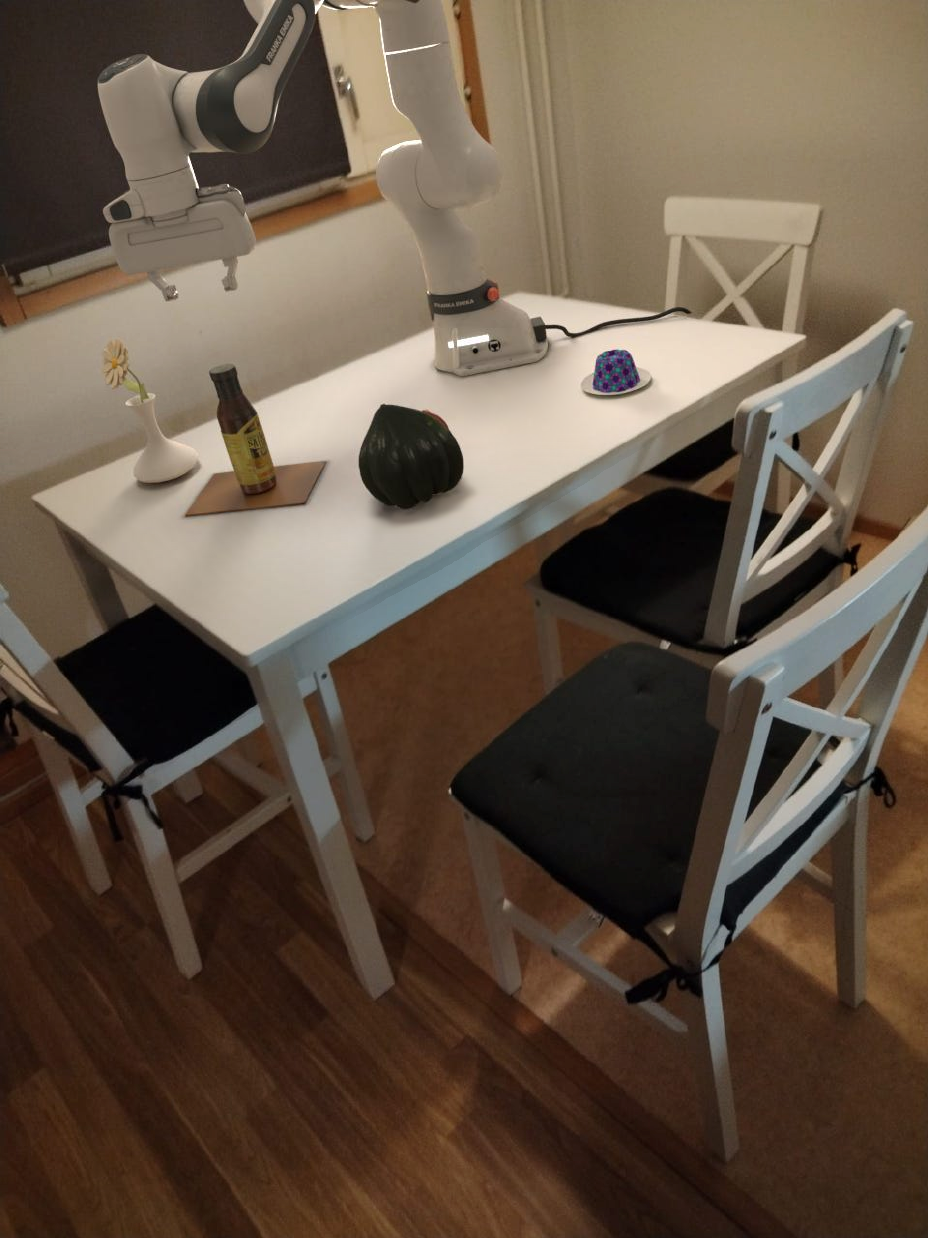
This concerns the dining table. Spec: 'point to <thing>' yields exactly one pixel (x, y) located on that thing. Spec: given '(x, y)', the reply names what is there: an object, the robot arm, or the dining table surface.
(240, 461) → the sauce bottle
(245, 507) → the cork mat
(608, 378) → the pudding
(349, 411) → the dining table surface
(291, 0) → the robot arm
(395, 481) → the squash
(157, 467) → the flower in vase
